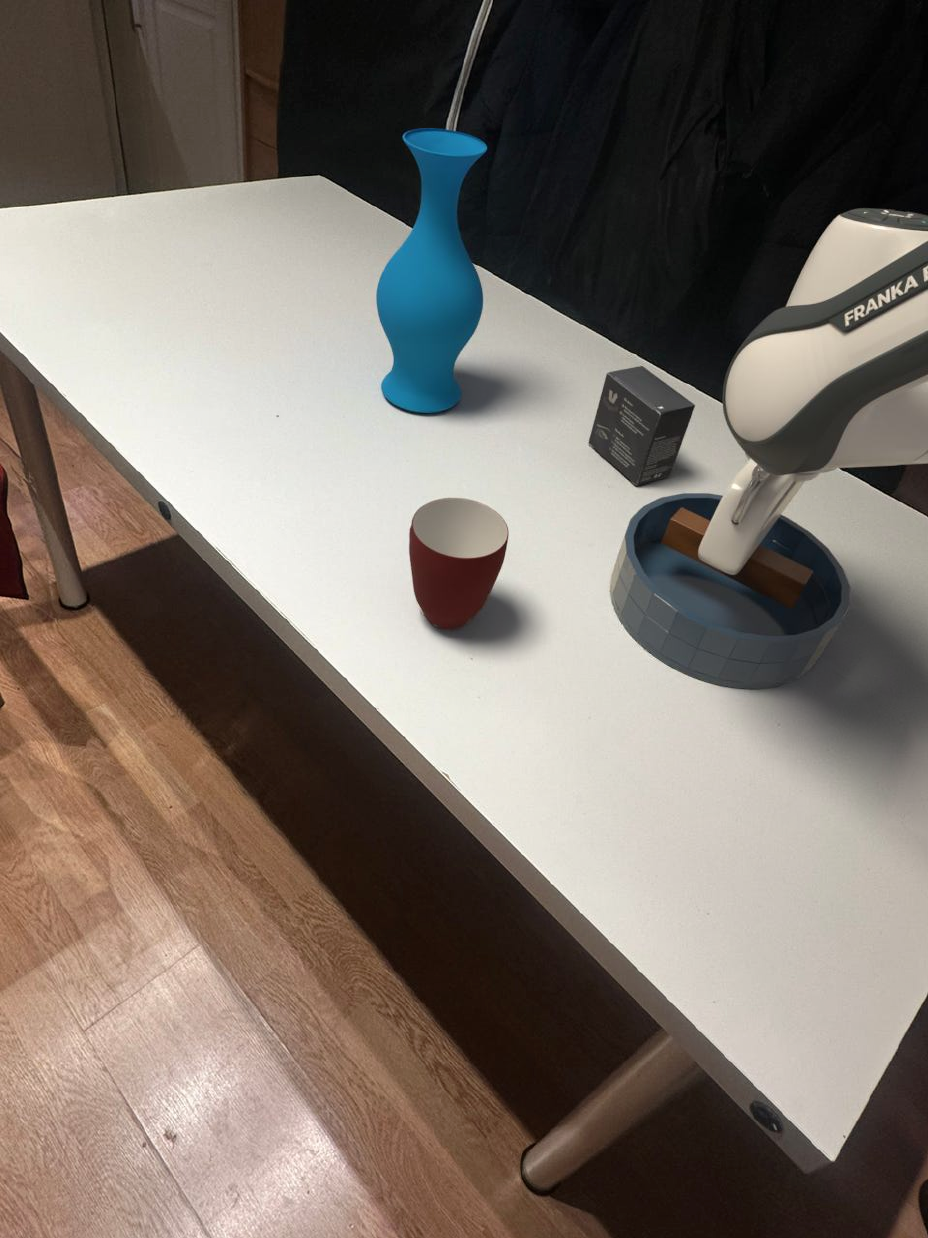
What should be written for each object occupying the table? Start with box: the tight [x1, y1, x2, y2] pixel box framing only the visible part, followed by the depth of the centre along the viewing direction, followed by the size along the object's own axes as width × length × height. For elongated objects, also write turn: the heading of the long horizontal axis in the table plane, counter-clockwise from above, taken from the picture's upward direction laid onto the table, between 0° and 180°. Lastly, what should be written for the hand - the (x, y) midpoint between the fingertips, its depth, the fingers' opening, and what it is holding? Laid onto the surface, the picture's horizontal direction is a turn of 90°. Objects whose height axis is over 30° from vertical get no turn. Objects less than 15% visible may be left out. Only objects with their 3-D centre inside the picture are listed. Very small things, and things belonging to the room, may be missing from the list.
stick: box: [662, 507, 813, 609], centre depth 75 cm, size 13×2×3 cm, turn 55°
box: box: [587, 365, 696, 486], centre depth 93 cm, size 9×6×10 cm, turn 31°
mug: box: [408, 497, 509, 630], centre depth 71 cm, size 10×8×10 cm
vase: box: [375, 127, 488, 414], centre depth 91 cm, size 12×13×28 cm
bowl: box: [609, 492, 851, 690], centre depth 77 cm, size 21×21×6 cm
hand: (736, 556), depth 75 cm, fingers closed on stick, 2 cm apart
